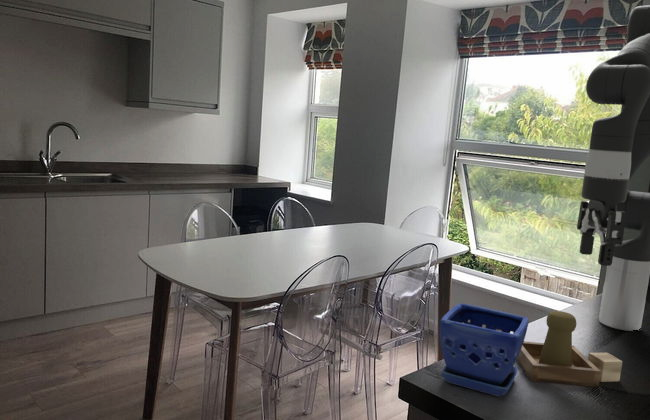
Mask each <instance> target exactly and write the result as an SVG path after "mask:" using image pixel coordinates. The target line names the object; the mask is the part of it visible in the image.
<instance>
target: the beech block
mask: <svg viewBox="0 0 650 420" xmlns="http://www.w3.org/2000/svg"><path fill="white" fill-rule="evenodd" d="M587 359H588V360H589V361H590V362H591V363H593V364H594V365H595V366H596V367H597V368H598V369H599V370H600V371H601V374H600V380H599V382H602V383H605V382H620V380H621V373H622V368H623V362H624V361H622V360H621V359H620V358H617V357H616V356H614V355H612V354H610V353H609V352H588V358H587Z"/></svg>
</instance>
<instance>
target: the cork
mask: <svg viewBox="0 0 650 420" xmlns="http://www.w3.org/2000/svg"><path fill="white" fill-rule="evenodd" d="M546 326H547V327H548V329H547V332H546V336H545V338H544V342H543V343H544V345H543V349H542V352H541V356H540V359H539V363H538V364H548V365H559V366H570V367H572V346H573V332H574V331H575V330H576V328H577V319H576V317H575V316H574V315H573V314H572V313H569V312H566V311H563V310H562V311H561V310H552V311H550V312H549V313H548V314H547V316H546Z"/></svg>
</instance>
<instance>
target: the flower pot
mask: <svg viewBox="0 0 650 420" xmlns="http://www.w3.org/2000/svg"><path fill="white" fill-rule="evenodd" d="M529 322H530V321H529V318H528V317H526V316H523V315H518V314H514V313H510V312H505V311H500V310H496V309H492V308H488V307H483V306H477V305H473V304H468V303H457V304H456V305H455V306H453V307H452V308H451V309H449V311H448V312H447V313H445V314H444V315H443V316H442V318H441V319H440V323H439V339H440V340H439V341H440V348H441V349H440V350H441V352H442V357H443V360H444V363H445V365H444V367H443V368H442V370H441V372H440V373H441V377H442V378H443V379H444V380H445V381H446V382H447V383H450V384H453V385H457V386H460V387H464V388H467V389H470V390H475V391H477V392H482V393H484V394H489V395H491V396H494V397H502V396H504V395H506V393H508V392H509V390H510V388H511V386H512V384H513V383H514V380H515V378H516V376H517V374H518V370H519V368H518V367H517V366H515V365H516V362H517V361H516V360H517V358H518V356H519V353H520V351H521V348H522V345H523V342H524V341H525V339H526V334H527V330H528V327H529ZM483 326H485V327H483ZM511 332H512V333H511Z"/></svg>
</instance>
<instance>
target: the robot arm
mask: <svg viewBox="0 0 650 420" xmlns="http://www.w3.org/2000/svg"><path fill="white" fill-rule="evenodd" d="M585 88H586V89H585V90H586V91H585V92H586V94H587V97H588V98H589V100H591V102H593V103H595V104H598V105H611V106H612V105H614V106H615V105H619V106H621V108H620V109H621V110H620V113H618V114H616V115H612V116H608V117H607V116H606V117H601V118H598V119H595V120H594V122H593V123H592V127H591V135H590V140H589V147H588V153H587V156H586V161H585V167H584V175H583V180H582V187H581V188H582V189H581V197H582V198H583V199H585V200H581V202H580V206H579V213H578V217H577V224H576V229H577V230H578V231H579V232H580V235H581V238H580V245H579V253H580V254H581V255H588V256H590V255H592V254H593V249H594V244H595V243H594V241H595V235H596V234H597V235H599V239H600V245H599V251H598V259H597V264H598V265H599V266H606V271H605V272H606V273H605V278H604V282H603V287H602V295H601V302H600V308H599V315H598V319H599V320H598V321H599V323H601V324H603V325H604V326H606V327H609V328H611V329H612V328H613V329H616V330H622V331H627V332H628V331H629V332H634V331H633V330H638V331H640V330H641V329H642V323H643V317H644V313H645V306H646V299H647V298H646V297H647V294H648V293H647V292H648V286H649V282H650V281H649V280H650V192H644V191H643V192H642V191H634V190H629V183H630V182H631V179H632V178H633V176H634V175H635V174H636V172H637V171H638V169H639V168H640V167H641V166H642V164H644V162H646V161H647V159H648V158H649V157H650V4H649V5H639V6H636V7H634V8H633V9H632V10H631V12H630V14H629V18H628V23H627V27H626V44H625V45H624V46H623V48H621V50H620V51H619V52H618V53H617V55H614V56H612V57H610V58H609V59H606V60H605V61H602V62H601V63H599V64H598V65H596V67H595V68H594V69H593V70H591V72H590V74H589V76H588V78H587V81H586V84H585ZM625 229H626V230H634V231H639V232H640V234H639V235H638V236H636V237H634V238H632V239H626V240H624V233H625ZM640 328H641V329H640ZM639 329H640V330H639Z"/></svg>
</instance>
